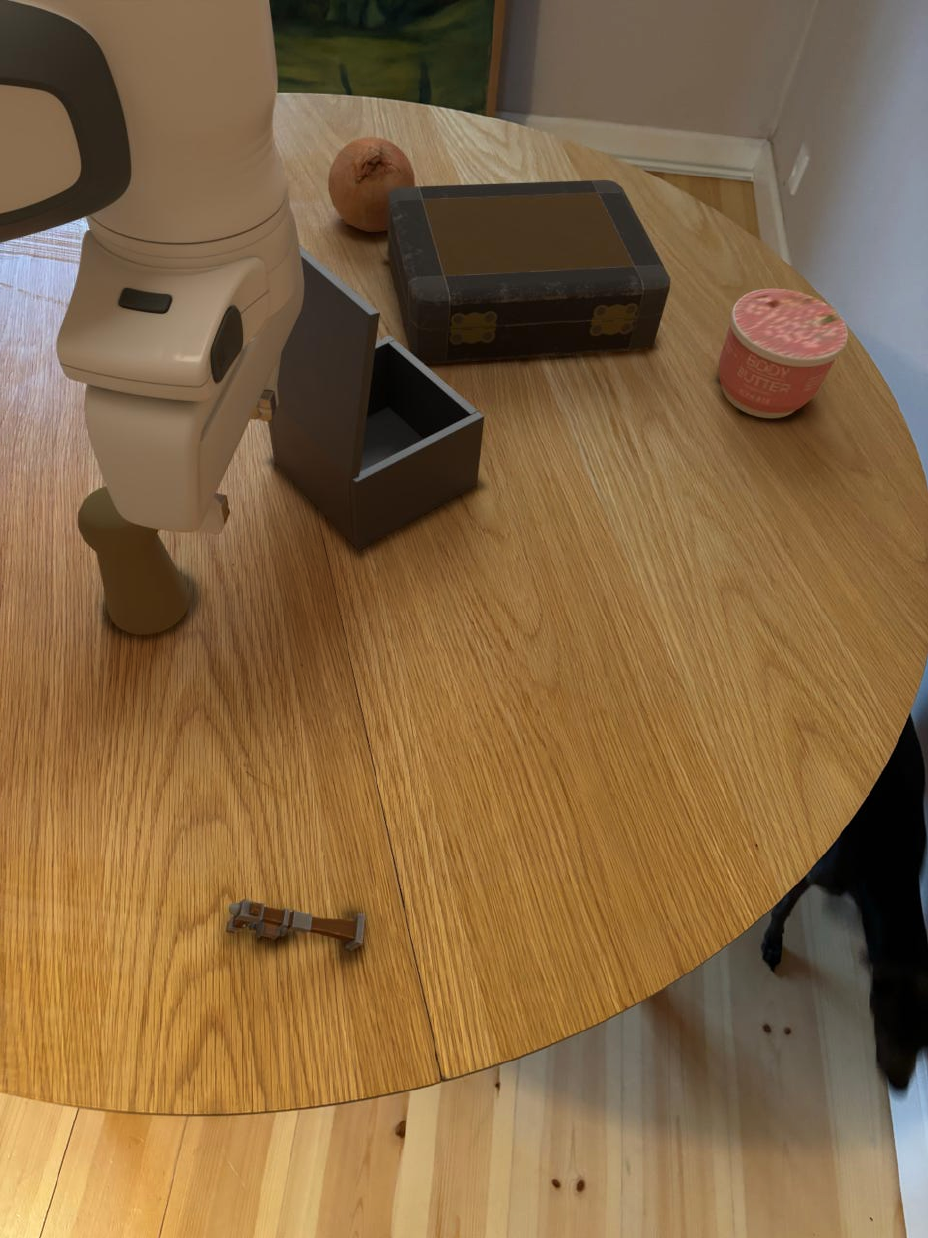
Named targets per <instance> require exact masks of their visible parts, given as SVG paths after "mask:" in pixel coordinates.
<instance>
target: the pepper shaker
mask: <svg viewBox="0 0 928 1238" xmlns="http://www.w3.org/2000/svg"><path fill="white" fill-rule="evenodd" d="M77 528H78V530H79V532H80V535H81V537H82V539H83V541H84V542H85V543H86V545H88V547H89V548H90V549H92V550H93V551H94V552H95V554H96V559H97V564H98V569H99V573H100V577H101V582H102V583H101V584H102V588H103V592H104V598H105V603H106V608H107V613H108V615H109V618H110V620H111V622H112V623H113V624H114V625H115V626H116V627H117V628H118V629H120V630H122V631H124V632H126V633H129V634H133V635H140V636H145V635H146V636H147V635H154V634H159V633H160V632H163V631H166V630H168V629H170V628H171V627H173V626H174V625H176V624H177V623H179V622H180V621H181V620H182V618H183V616H185V614H186V613H187V612H188V609H189V606H190V603H191V598H190V597H191V596H190V590H189V588H188V587H187V584H186V583H185V581H184V579H183V577H182V575H181V574H180V572H179V569H178V568H177V566H176V564H175V563H174V561H173V558H172V557H171V555H170V553H169V552H168V549H167V548H166V547H165V545H164V542H163V541H162V539H161V537H160V536H159V531H160V530H158V529H153V528H149V527H144V526H141V525H137V524H134V523H132V522H129V521H127V520H126V519H124V518H123V517H122V516H121V515H120V514H119V512H118V511H117V509H116V507H115V505H114V503H113V501H112V498H111V496H110V494H109V491H108V489H107V486H106V485H105V486H102V487H99V488H97V489H96V490H94V491H92V492H91V493H89V494H88V495H87V496H86V498H84V499H83V501H82V504H81V505H80V508H79V509H78V512H77Z"/></svg>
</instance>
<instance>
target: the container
mask: <svg viewBox="0 0 928 1238" xmlns="http://www.w3.org/2000/svg"><path fill="white" fill-rule="evenodd" d="M729 317H730V318H729V324H730V325H729V327H728V330H727V333H726V336H725V339H724V343H723V346H722V349H721V352H720V356H719V359H718V376H719V379H720V383H721V385H722V386H721V387H722V392H723V394H724V396H725V398H726V400H728V401H729V402H730V404H732V405H733V406H734V407H735V408H737V409H739V410H740V411H742V412H744V413H746V414H748V415H752V416H754V417H757V418H758V417H759V418H762V419H781V418H784V417H786V416H789V415H792V414H793V413H794V412H795V411H797V410H798V409H801V408H802V407H803V406H805V405H806V404H807V403H808V402H809V401H811V400H812V399H813V398H814V397H815V396H816V395H817V393H818V392H819V390H820V388H821V386H822V385H823V383H824V381H825V379H826V377H827V376H828V374H829V372H830V371H831V368H832V367H833V365H834V363H835V361H836V359H837V358H838V357H839V356H840V355H841V354H842V352H843V351H844V350H845V347H846V345H847V342H848V339H849V334H848V333H849V331H848V328H847V325H846V323H845V321H844V320H843V318H842V317H841V315H839V313H837V312H836V311H835V310H834V309H833V307H831V306H829V305H828V304H827V303H826V302H823V301H822V300H820V299H818V298H816V297H814V296H811V295H808V294H806V293H803V292H799V291H796V290H792V289H785V288H762V289H758V290H753V291H750V292H748V293H745V295H742V296H741V297H740V298H739V299H738V300H737V301H736V302H735V304H734V306H733V309H732V311H731V313H730V316H729Z"/></svg>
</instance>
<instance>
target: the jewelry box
mask: <svg viewBox="0 0 928 1238" xmlns="http://www.w3.org/2000/svg"><path fill="white" fill-rule="evenodd" d="M387 256H388V261H389V264H390V269H391V273H392V278H393V282H394V287H395V291H396V292H395V293H396V294H397V301H398V304H399V308H400V312H401V318H402V322H403V327H404V331H405V335H406V340H407V343H408V348H409V352H410V353H412V354H413V355H414V356H415V357H416V358H417V359H419V360H420V361H421V362H422V363H423V364H428V365H434V364H435V365H436V364H450V363H451V364H452V363H466V362H468V363H469V362H480V361H481V362H482V361H495V360H510V359H526V358H527V359H528V358H542V357H558V356H572V355H588V354H601V353H616V352H631V351H633V352H634V351H644V350H646V349H649V348H652V347H654V345H655V342H656V339H657V335H658V332H659V329H660V324H661V322H662V318H663V314H664V311H665V307H666V304H667V300H668V296H669V294H670V288H671V277H670V275H669V273H668V271H667V269H666V267H665V265H664V264H663V262H662V259H661V258H660V256H659V254H658V252H657V250H656V248H655V247H654V245H653V243H652V241H651V239H650V237H649V235H648V233H647V231H646V229H645V228H644V225H643V224H642V222H641V220H640V218H639V216H638V214H637V213H636V211H635V209H634V207H633V205H632V203H631V201H630V199H629V197H628V196H627V194H626V192H625V190H624V188H623V186H621V185H619V184H618V183H617V182H616V181H615V180H610V179H592V180H591V179H590V180H589V179H588V180H585V179H584V180H562V181H561V180H558V181H534V182H533V181H532V182H531V181H529V182H503V183H501V182H500V183H477V184H476V183H474V184H448V185H447V184H446V185H445V184H444V185H419V186H416V185H415V187H401V188H397V189H393V190H391V192H390V194H389V197H388V230H387Z"/></svg>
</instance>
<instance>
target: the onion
mask: <svg viewBox="0 0 928 1238" xmlns="http://www.w3.org/2000/svg"><path fill="white" fill-rule="evenodd" d="M327 181H328V182H327V183H328V187H327V188H328V193H329V194H328V195H329V197H330V201H331V205H332V206H333V207H334V209H335V210H336V212H337V214H338V215H339V217H341V219H340V221H341V222H342V223H343V224H345V225H348V226H350V227H354V228H356V229H358V230H360V231H363V232H367V233H368V232H369V233H381V232H385V231H386V232H388V197H389V194H390V192H391V190H393V189H397V188H401V187H416V181H415V172H414V169H413V166H412V164H411V161H410V160H409V158H408V157H407V155H406V154H405V152H404V151H403V150H402V149H400V147H398V146H397V145H396V144H394V143H393V142H391V141H390V140H387V139H385V138H382V137H376V136H366V137H360V138H357V139H355V140H353V141H350V142H349V143H348V144H346V145H344V147H342V149H340V151H339V152H338V153H337V154H336V156H335V158H334V160H333V162H332V164H331V166H330V170H329V173H328V179H327Z"/></svg>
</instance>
